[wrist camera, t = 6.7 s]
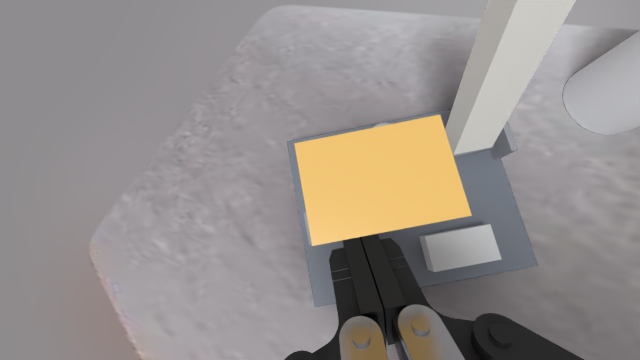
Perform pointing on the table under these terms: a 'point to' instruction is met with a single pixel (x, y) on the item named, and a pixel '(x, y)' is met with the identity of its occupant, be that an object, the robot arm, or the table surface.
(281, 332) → the table surface
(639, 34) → the cylindrical container
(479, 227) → the switch panel
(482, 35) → the black lever
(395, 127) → the amber lever
